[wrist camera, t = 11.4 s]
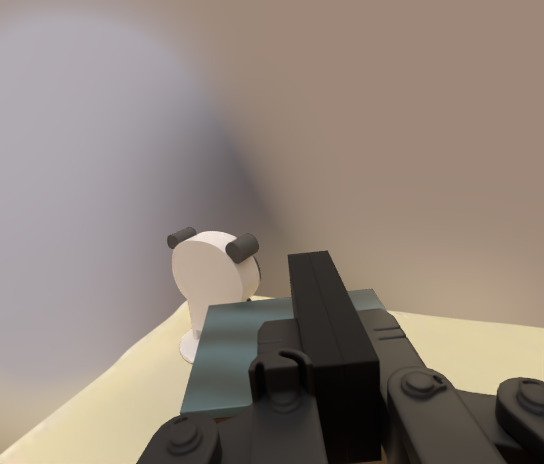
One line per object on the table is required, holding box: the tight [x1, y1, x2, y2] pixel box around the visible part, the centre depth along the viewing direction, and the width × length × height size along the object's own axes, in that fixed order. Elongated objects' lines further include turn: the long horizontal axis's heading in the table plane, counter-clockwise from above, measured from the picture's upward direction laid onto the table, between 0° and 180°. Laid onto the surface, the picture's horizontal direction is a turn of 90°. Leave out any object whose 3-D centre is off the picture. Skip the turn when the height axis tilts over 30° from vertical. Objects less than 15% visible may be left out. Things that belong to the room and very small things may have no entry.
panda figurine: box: [167, 227, 261, 364], centre depth 49 cm, size 12×11×15 cm
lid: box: [180, 289, 387, 419], centre depth 31 cm, size 14×17×1 cm
